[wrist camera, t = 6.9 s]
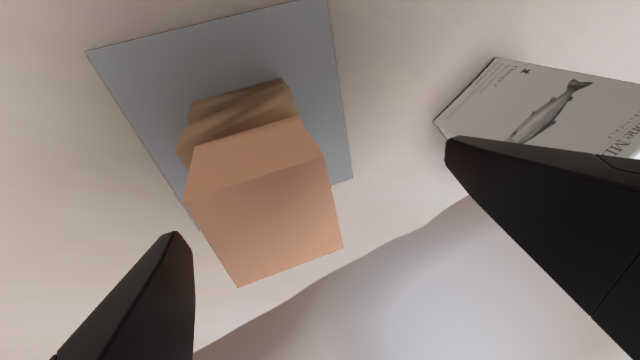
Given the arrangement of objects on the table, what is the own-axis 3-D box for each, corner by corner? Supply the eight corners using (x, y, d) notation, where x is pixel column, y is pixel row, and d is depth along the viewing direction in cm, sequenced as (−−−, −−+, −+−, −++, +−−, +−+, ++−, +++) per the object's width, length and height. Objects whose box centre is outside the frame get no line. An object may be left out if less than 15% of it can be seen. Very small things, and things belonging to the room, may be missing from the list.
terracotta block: (296, 115, 13) (323, 155, 10) (316, 194, 16) (343, 247, 12) (194, 146, 13) (182, 201, 9) (234, 222, 15) (237, 287, 12)
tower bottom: (280, 77, 18) (290, 88, 16) (301, 153, 22) (311, 172, 19) (191, 102, 17) (186, 118, 15) (227, 177, 21) (228, 200, 18)
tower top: (281, 83, 15) (292, 98, 13) (315, 165, 19) (330, 190, 16) (183, 127, 15) (174, 152, 12) (236, 203, 19) (238, 234, 16)
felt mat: (324, -7, 17) (325, -7, 17) (351, 176, 25) (353, 177, 24) (86, 51, 15) (83, 51, 15) (199, 228, 23) (198, 230, 23)
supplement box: (495, 53, 23) (721, 89, 12) (520, 109, 27) (706, 171, 16) (429, 120, 24) (580, 202, 14) (462, 163, 28) (598, 251, 18)
